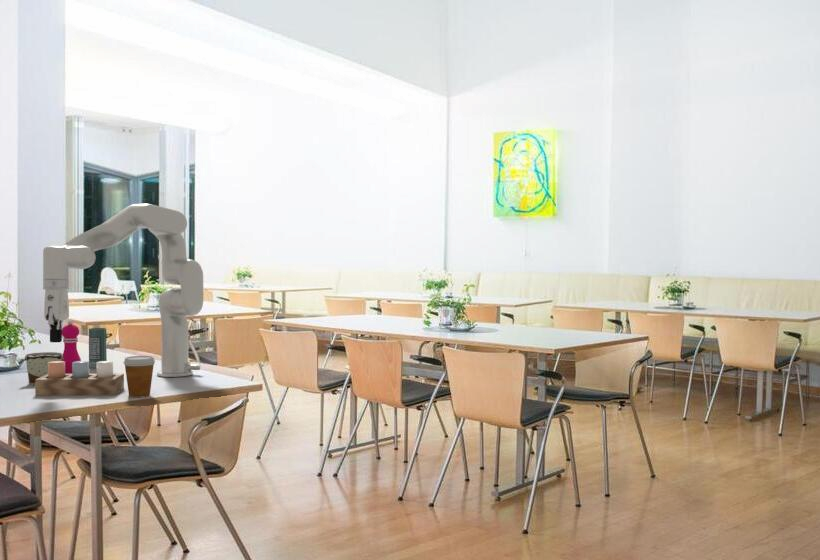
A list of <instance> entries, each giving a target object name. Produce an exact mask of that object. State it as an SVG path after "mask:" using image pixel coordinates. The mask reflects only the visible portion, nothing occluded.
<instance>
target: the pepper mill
mask: <svg viewBox="0 0 820 560" xmlns="http://www.w3.org/2000/svg"><path fill="white" fill-rule="evenodd" d="M79 335H80V329H79V327H78V326H77V325H76V324H74V321H73V320H71V319H70V320H68V321H67V324H66V325H64V326H62V342H63V343H64V344H63V345H64V349H63V352H62V355H63V359H64V360H63V359H62V361H64V362H65V374H72V362H76V361H82V359H81V357H80V354H79V352H78V349H77V346H78V345H77V344H78V341H79V338H78V336H79Z"/></svg>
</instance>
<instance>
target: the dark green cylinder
mask: <svg viewBox="0 0 820 560" xmlns="http://www.w3.org/2000/svg"><path fill="white" fill-rule="evenodd" d="M107 354H108V353H107V328H106V327H92V328H88V362H89V369H96V362H100V361H108V360H107Z"/></svg>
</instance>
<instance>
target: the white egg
mask: <svg viewBox="0 0 820 560" xmlns="http://www.w3.org/2000/svg"><path fill="white" fill-rule="evenodd" d="M95 374H97V378H112V377H113V374H114V361H111V360H107V361H100V362H96V373H95Z"/></svg>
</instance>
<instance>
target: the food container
mask: <svg viewBox="0 0 820 560" xmlns="http://www.w3.org/2000/svg"><path fill="white" fill-rule="evenodd" d="M62 359H63V352H56V351H54V352H53V351H47V352H46V351H45V352H44V351H43V352H32V353H27V354H25V356H24V360H23V361H24V362H26V370H27V379H28V385H35V379H38V378H40V377H42V376H45V375H47V374H48V362H53V361H62ZM63 360H64V359H63Z"/></svg>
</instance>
